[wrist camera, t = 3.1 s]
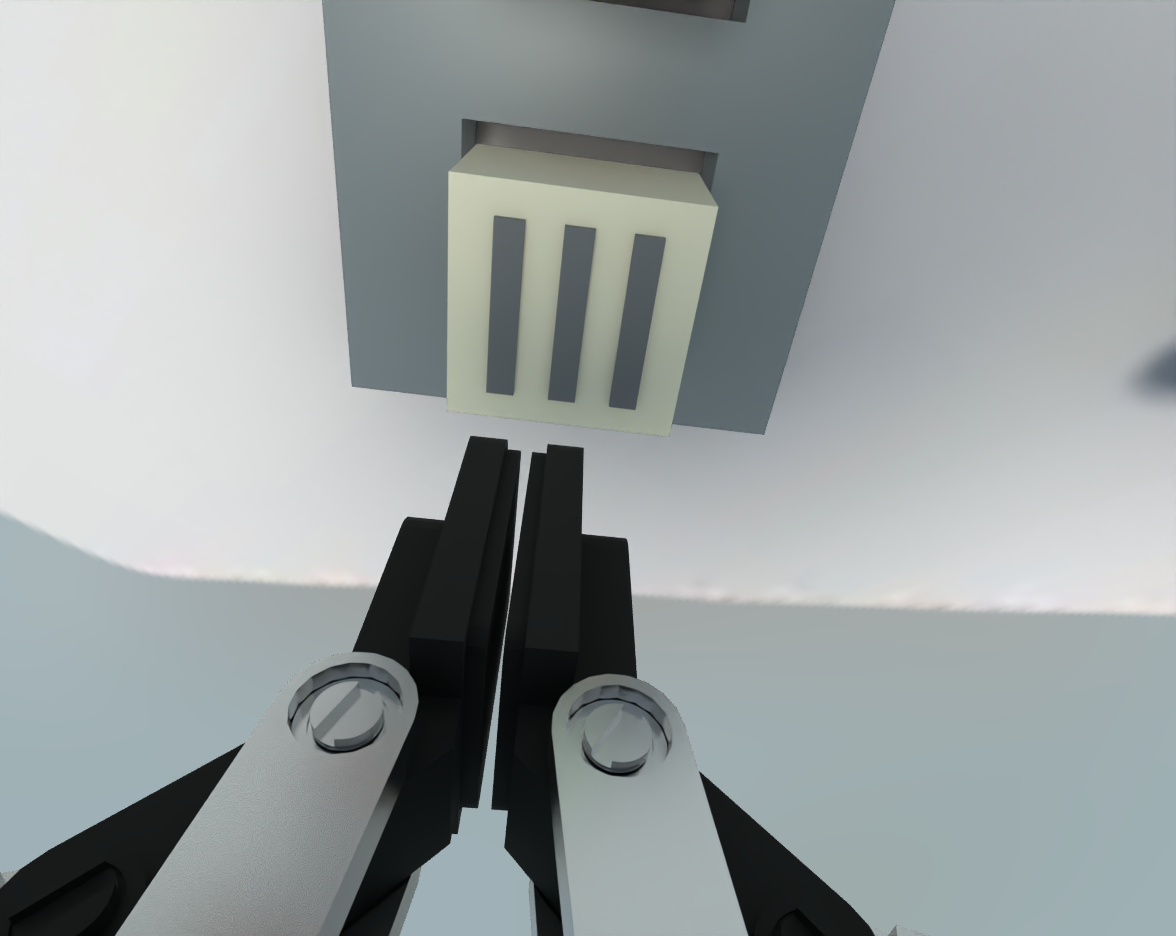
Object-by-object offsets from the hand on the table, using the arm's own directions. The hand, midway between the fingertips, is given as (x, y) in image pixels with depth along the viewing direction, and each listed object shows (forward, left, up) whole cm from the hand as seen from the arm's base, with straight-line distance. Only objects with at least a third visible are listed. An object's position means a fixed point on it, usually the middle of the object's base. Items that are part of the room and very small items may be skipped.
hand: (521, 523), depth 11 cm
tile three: (0, 0, -12) cm, 12 cm away
